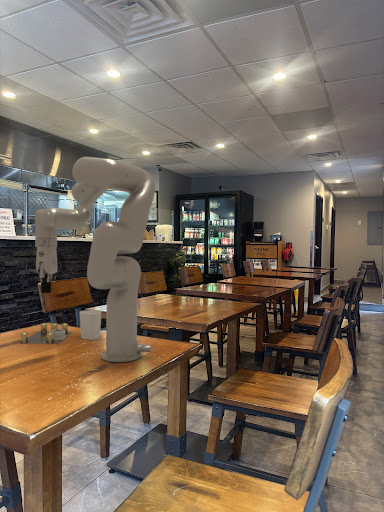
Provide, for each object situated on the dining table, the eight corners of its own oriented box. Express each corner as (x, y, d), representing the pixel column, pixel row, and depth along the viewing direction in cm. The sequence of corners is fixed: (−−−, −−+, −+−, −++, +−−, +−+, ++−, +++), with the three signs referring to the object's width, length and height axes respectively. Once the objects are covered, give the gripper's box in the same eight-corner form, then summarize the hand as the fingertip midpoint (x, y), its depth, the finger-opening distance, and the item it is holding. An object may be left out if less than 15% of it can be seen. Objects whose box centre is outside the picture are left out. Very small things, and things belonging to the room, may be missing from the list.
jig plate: (73, 333, 147) (73, 323, 146) (59, 345, 129) (59, 333, 128) (37, 333, 146) (37, 322, 146) (18, 345, 128) (18, 333, 128)
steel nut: (66, 335, 140) (66, 328, 140) (61, 339, 135) (61, 332, 135) (52, 335, 140) (52, 328, 140) (47, 339, 134) (47, 332, 134)
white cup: (98, 341, 135) (98, 314, 135) (76, 340, 135) (76, 313, 135) (103, 336, 143) (103, 310, 143) (83, 335, 143) (83, 309, 143)
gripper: (49, 243, 129) (49, 295, 130) (62, 243, 144) (62, 290, 145) (28, 242, 129) (28, 295, 129) (43, 243, 144) (43, 290, 144)
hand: (46, 292), depth 137 cm, fingers closed
